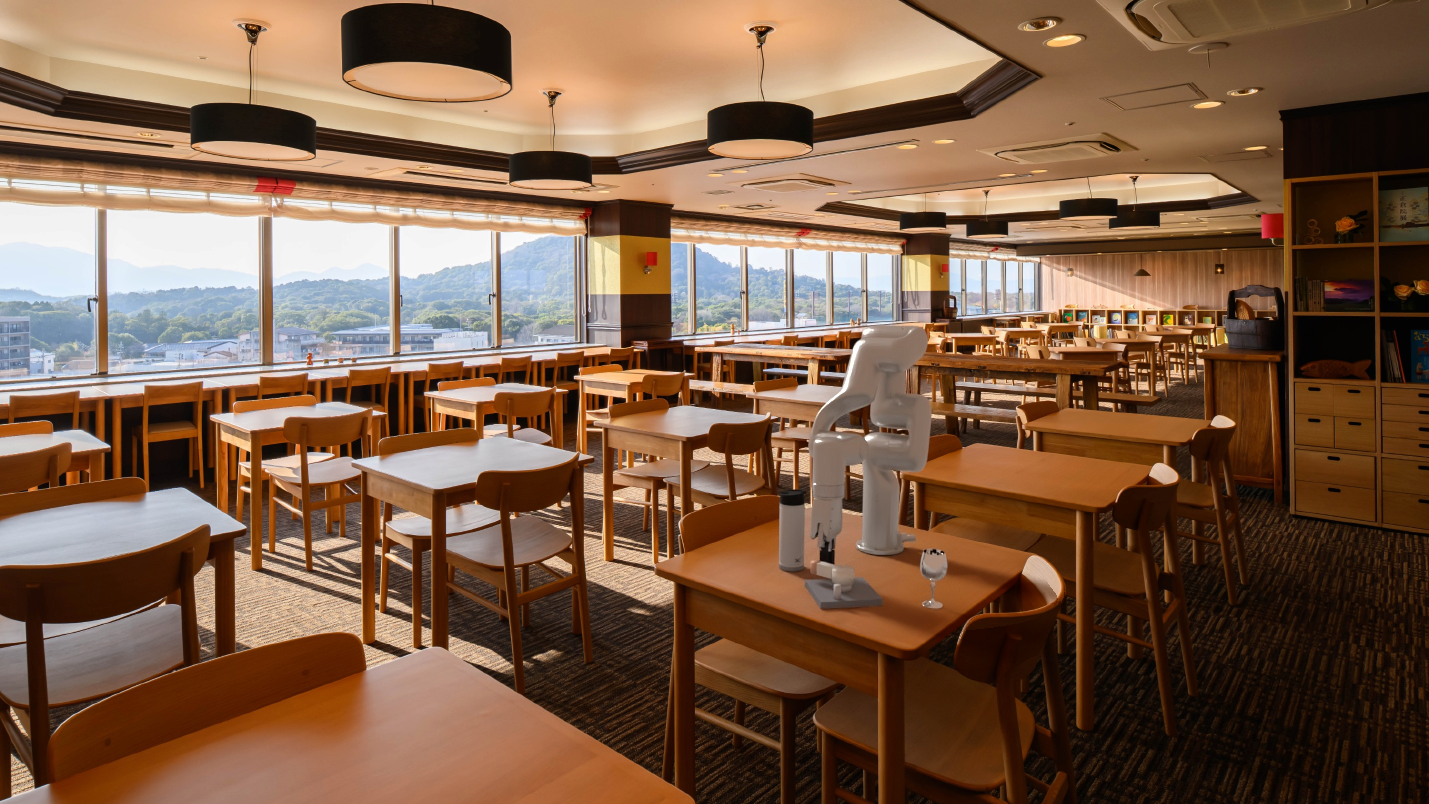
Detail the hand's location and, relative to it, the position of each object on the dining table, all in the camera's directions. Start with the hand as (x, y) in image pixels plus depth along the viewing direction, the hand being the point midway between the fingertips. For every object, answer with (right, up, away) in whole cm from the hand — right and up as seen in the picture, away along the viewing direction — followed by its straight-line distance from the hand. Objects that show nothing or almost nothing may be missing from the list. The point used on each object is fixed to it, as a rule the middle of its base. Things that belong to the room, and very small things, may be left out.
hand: (826, 565), depth 186 cm
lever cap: (0, -2, -5) cm, 6 cm away
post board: (+3, -5, -7) cm, 9 cm away
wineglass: (+21, -6, -13) cm, 26 cm away
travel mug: (-7, -3, +12) cm, 14 cm away
